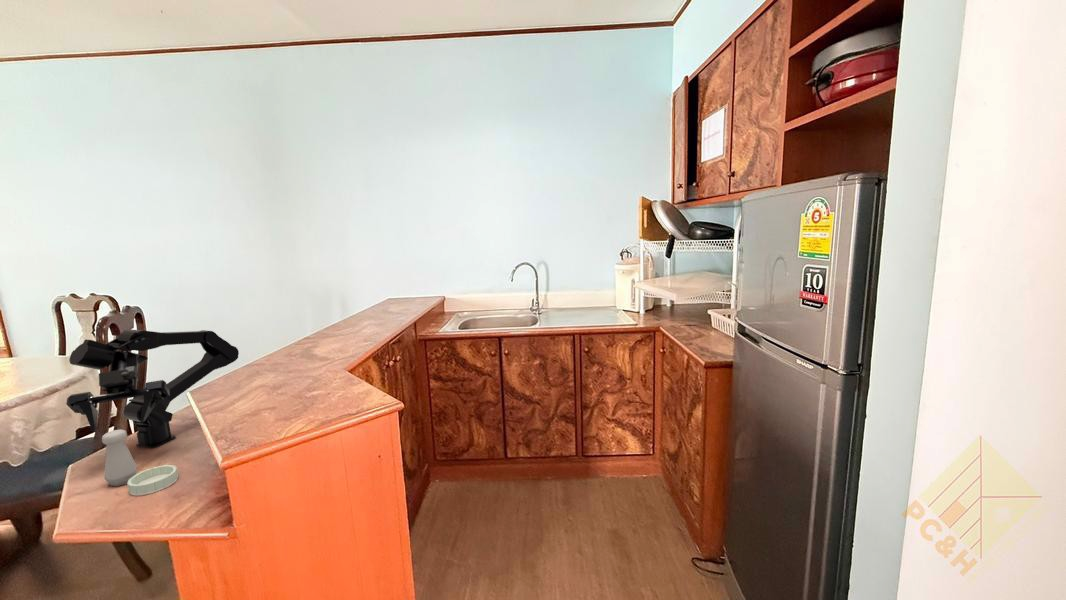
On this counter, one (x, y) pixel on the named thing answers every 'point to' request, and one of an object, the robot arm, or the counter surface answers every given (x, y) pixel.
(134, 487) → the pale green shallow dish
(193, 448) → the counter surface
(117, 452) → the salt shaker
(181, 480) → the counter surface
